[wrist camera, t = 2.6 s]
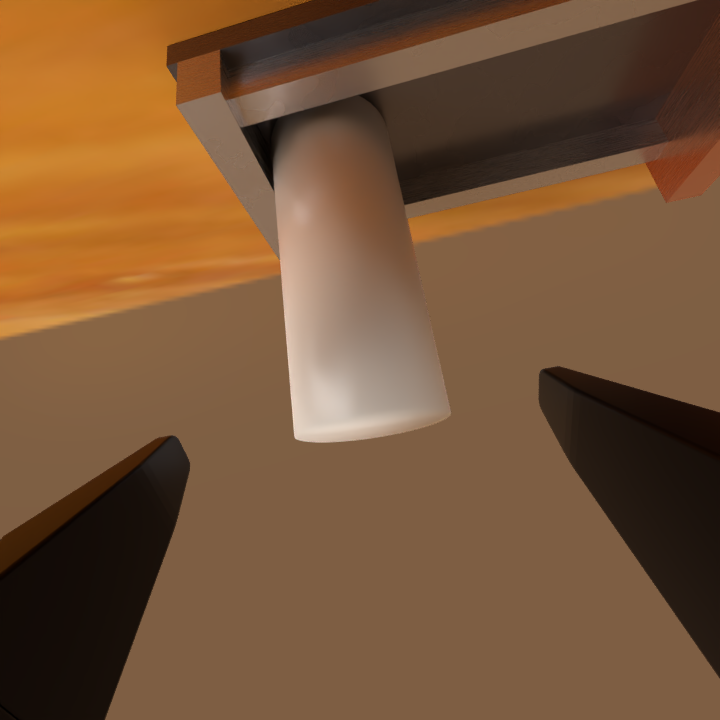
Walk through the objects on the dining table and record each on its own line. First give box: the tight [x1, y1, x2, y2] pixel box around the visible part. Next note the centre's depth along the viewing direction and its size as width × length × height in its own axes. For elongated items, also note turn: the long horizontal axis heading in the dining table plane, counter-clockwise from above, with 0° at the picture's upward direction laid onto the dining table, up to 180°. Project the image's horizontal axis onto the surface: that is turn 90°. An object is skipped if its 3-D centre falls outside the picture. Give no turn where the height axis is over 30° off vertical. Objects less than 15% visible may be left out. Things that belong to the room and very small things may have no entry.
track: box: [167, 0, 720, 260], centre depth 15 cm, size 21×9×4 cm, turn 100°
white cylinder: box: [271, 95, 451, 442], centre depth 14 cm, size 5×5×12 cm
